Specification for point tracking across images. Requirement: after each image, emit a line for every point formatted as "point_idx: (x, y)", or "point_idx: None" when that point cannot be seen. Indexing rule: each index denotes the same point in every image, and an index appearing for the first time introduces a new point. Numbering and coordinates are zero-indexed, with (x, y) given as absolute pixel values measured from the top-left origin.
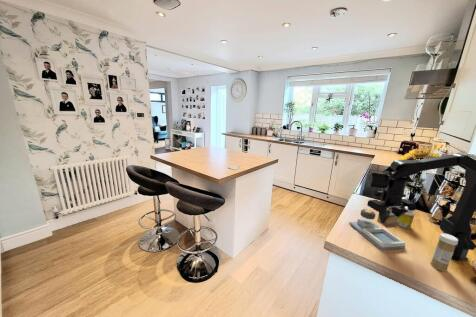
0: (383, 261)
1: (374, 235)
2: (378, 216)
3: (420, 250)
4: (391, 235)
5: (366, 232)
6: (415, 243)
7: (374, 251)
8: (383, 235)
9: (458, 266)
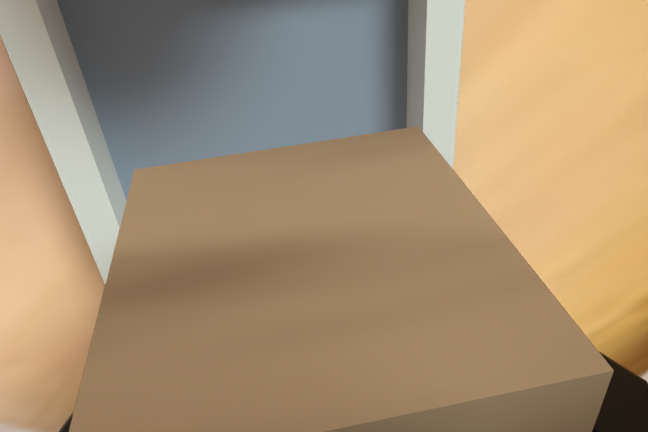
0: (48, 396)
1: (172, 56)
2: (113, 284)
3: (560, 228)
4: (420, 109)
5: (10, 42)
6: (644, 127)
7: (22, 297)
8: (334, 48)
9: (632, 350)
